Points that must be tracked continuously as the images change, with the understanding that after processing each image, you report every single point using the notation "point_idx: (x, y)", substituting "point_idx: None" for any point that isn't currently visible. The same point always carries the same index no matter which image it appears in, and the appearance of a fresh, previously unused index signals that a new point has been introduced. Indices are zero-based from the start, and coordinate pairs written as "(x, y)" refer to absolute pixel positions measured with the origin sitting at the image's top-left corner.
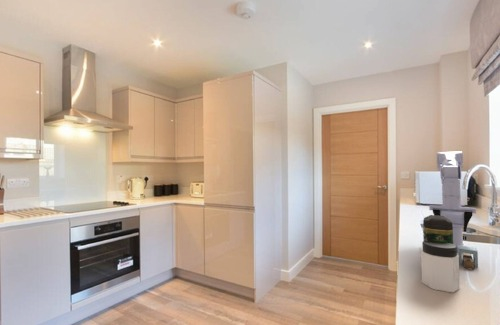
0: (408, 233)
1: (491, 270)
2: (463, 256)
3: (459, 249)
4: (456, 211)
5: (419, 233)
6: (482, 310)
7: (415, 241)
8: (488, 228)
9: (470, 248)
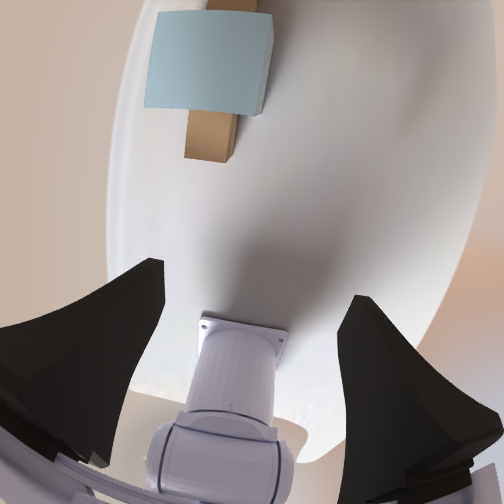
0: (345, 427)
1: (149, 20)
2: None
3: (264, 15)
4: (156, 498)
5: (309, 435)
6: None
7: None
8: None
9: (184, 57)
